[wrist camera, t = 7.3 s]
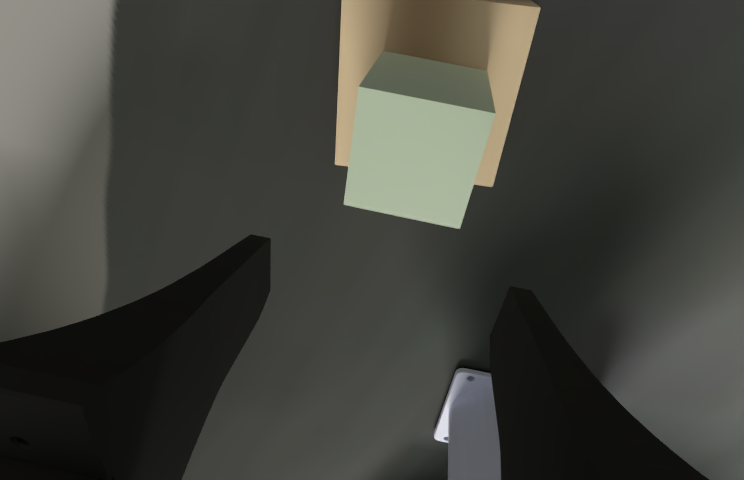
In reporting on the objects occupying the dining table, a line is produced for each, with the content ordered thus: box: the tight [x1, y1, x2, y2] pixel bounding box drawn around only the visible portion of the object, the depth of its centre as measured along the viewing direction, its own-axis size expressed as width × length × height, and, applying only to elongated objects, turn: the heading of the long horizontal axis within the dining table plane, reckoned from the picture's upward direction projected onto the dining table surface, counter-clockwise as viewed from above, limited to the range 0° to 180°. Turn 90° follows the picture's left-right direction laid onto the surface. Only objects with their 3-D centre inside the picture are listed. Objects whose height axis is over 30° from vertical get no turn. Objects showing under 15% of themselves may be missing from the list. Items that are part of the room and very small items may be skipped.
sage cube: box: [344, 51, 496, 229], centre depth 16 cm, size 4×4×5 cm
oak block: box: [335, 0, 541, 187], centre depth 19 cm, size 7×7×3 cm
